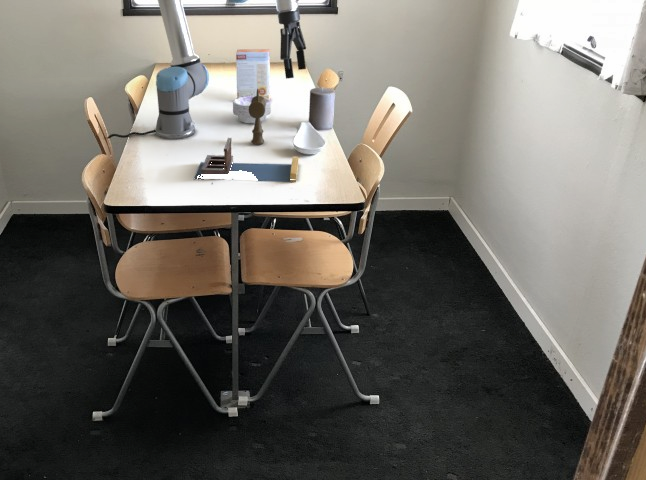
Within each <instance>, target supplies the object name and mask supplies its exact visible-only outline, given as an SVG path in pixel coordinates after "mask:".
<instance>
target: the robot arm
mask: <svg viewBox="0 0 646 480" xmlns="http://www.w3.org/2000/svg"><path fill="white" fill-rule="evenodd" d="M247 1H248V0H230V2H231V3H234V4H243V3H245V2H247ZM299 1H300V0H275V5H276V11H277V12H278V13H277V20H278V24H279V25H283V28H279V29H280V31H279V32H280V51H279V53H280V54H279V55H280V57H279V58H280V60H281V61H283V67H284V75H285V79H286V80H288V79H294V78H295V75H294V69H293V61H292V58H291V53H292V45H293V44H294V46H295V49H296V51H295V54H296V61H297V69H298V71H300V70H306V69H307V65H306V58H305V50H307V46H306V41H305V38H304V35H303V32H302V29H301V23H300V20H301V15H300V9H299ZM157 2H158V7H159V10H160V11H159V12H160V14H161V19H162V22H163V27H164V30H165V34H166V37H167V41H168V45H169V49H170V53H171V57H172V59H171V62H170V64H169V67H165V68H162V69H159V71H158V72H157V73H156V76H155V79H156V81H155V86H156V95H157V107H158V108H157V109H158V116H157V121H156V125H155V129H153V130H148V131H145V132H139V131H132V132H129V133H127V134H124V135H123V134H119V133H118V134H117V133H111V134H109V135H108V136H107V139H108V140H109V139H111V138H112V137H117V138H120V139H121V138H122V139H126V138H129V137H131V136H134V135H135V136H146V135H148V134H149V135H150V134H154V133H155V136H156V137H158V138H160V139H161V138H162V139H164V140H165V139H166V140H180V139H187V138H189V137H192V136H194V135H195V133H196V125H195V124H196V123H195V120H193V118H192V116H191V113H190V103H189V102H190V99H193V98H194V97H196V96H199V95H200V94H202V92H204V91H205V90H206V89H207V87H208V85H209V81H210V74H209V70H208V69H207V67H206V65H204V64H203V63H202V62H201V58H200V56H199V55H197V54H196V53H195V51H194V45H193V42H192V38H191V37H192V36H191V34H190V30H189V26H188V25H189V24H188V21H187V18H186V13H185V9H184V5H183V1H182V0H157Z"/></svg>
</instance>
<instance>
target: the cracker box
mask: <svg viewBox="0 0 646 480" xmlns="http://www.w3.org/2000/svg"><path fill="white" fill-rule="evenodd" d="M270 51H271V50H270V49H269V48H267V49H263V48H261V49H259V48H257V49H256V48H255V49H254V48H253V49H239V48H237V50H236V52H235V59H236V60H235V62H236V63H235V64H236V65H235V67H236V96H237V97H236V99H237V98H240V97H247V96H257V89H258V90H259V96H262V97H265V98H268V99H270V100H271V85H270V84H271V83H270V82H271V68H270V67H271V64H270V63H271V59H270V58H271V56H270V53H271V52H270Z"/></svg>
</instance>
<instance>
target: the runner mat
mask: <svg viewBox="0 0 646 480" xmlns="http://www.w3.org/2000/svg"><path fill="white" fill-rule="evenodd" d="M203 164H204V161H200V164H199V166H198V168H197V170H196V172H195V174H194V177H193V180H196V179H197V176H198V175H200V176H201V168H202V166H203ZM291 165H292V163H291V164H288V163H251V162H250V163H249V162H248V163H247V162H233V166H232V169H231V171H239V170H242V171H247V172H252V174H254V176H256V178H257V179H258V181H257V182H268V183H269V182H270V183H272V182H273V183H291V182H290V172H291ZM217 169H223V168H217ZM298 171H299V170H298ZM298 171H297V173H298ZM200 176H199V177H200ZM194 178H195V179H194ZM199 179H201V178H198V180H197V181H205V180H204V179H201V180H199Z"/></svg>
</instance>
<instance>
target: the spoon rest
mask: <svg viewBox="0 0 646 480" xmlns="http://www.w3.org/2000/svg"><path fill="white" fill-rule="evenodd" d="M292 145H293V148H294V149H295V150H296V151H297V152H298V153H301V154H303V155H310V156H311V155H316V154H319V153H320V152H322V151H324V149H325V147H326V145H327V141H326V140H325V138H324V137H323V136H322V135H321V134H320V133H319V131H318V130H317V129H314V127H313V126H312V125H311V124H310V123H309V121H307V122H299V123H298V126H297V129H296V133H295V136H294V137H293V140H292Z"/></svg>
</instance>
